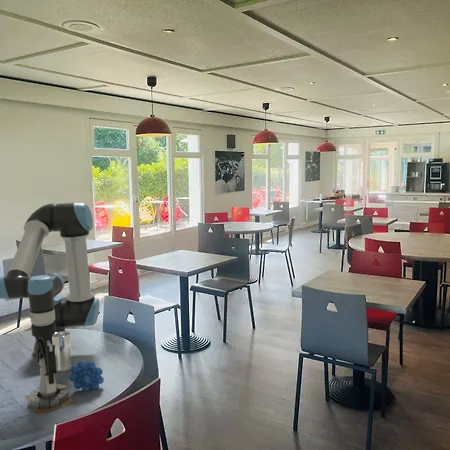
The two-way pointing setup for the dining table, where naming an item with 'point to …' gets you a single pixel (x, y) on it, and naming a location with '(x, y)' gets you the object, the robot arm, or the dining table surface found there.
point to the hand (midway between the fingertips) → (48, 388)
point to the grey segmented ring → (48, 403)
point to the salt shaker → (44, 381)
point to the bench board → (40, 412)
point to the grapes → (86, 375)
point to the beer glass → (62, 350)
